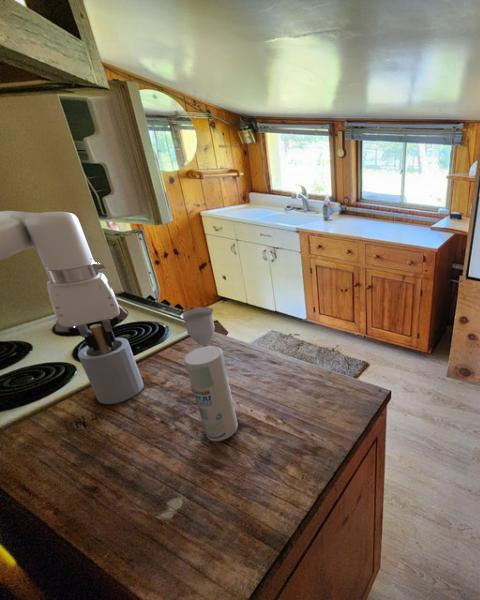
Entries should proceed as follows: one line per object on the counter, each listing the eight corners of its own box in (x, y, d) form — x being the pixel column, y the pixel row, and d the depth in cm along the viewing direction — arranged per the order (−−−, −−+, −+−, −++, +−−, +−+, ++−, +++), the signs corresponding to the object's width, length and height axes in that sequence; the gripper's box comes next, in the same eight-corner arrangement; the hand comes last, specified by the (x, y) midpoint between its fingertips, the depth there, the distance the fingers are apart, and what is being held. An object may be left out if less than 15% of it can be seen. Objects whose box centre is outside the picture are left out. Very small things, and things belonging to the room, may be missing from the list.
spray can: (245, 423, 74) (229, 349, 65) (222, 445, 68) (202, 367, 60) (222, 416, 76) (203, 343, 67) (198, 437, 70) (175, 360, 61)
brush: (104, 392, 78) (77, 331, 71) (114, 380, 82) (90, 321, 75) (124, 390, 79) (100, 330, 72) (134, 378, 83) (112, 320, 76)
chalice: (221, 359, 95) (208, 304, 87) (229, 370, 91) (217, 313, 83) (193, 369, 90) (177, 312, 83) (200, 381, 86) (184, 322, 78)
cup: (88, 405, 77) (67, 360, 71) (111, 381, 85) (93, 339, 79) (132, 401, 78) (114, 357, 73) (150, 378, 86) (135, 336, 81)
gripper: (120, 261, 76) (143, 329, 83) (20, 275, 66) (57, 351, 74) (123, 270, 70) (147, 342, 78) (15, 287, 61) (55, 367, 69)
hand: (103, 346), depth 76 cm, fingers closed on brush, 2 cm apart
